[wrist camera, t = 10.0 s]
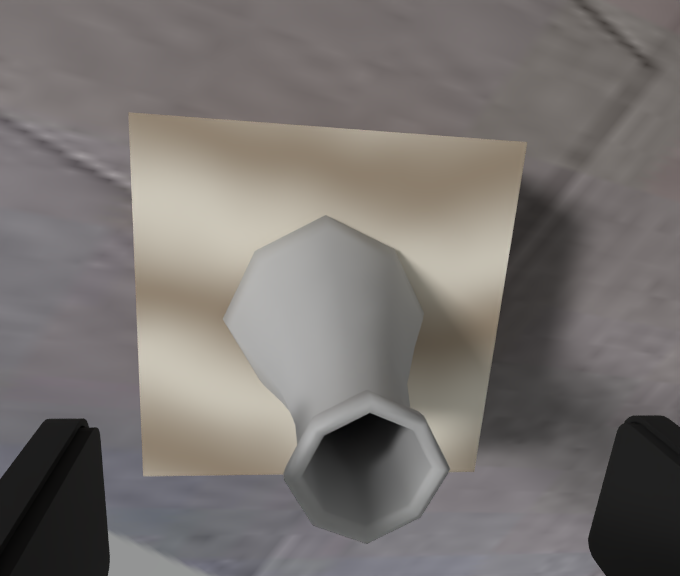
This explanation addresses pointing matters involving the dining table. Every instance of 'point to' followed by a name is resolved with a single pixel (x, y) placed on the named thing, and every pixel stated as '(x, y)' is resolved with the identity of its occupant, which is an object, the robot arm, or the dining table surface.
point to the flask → (341, 375)
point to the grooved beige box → (281, 219)
